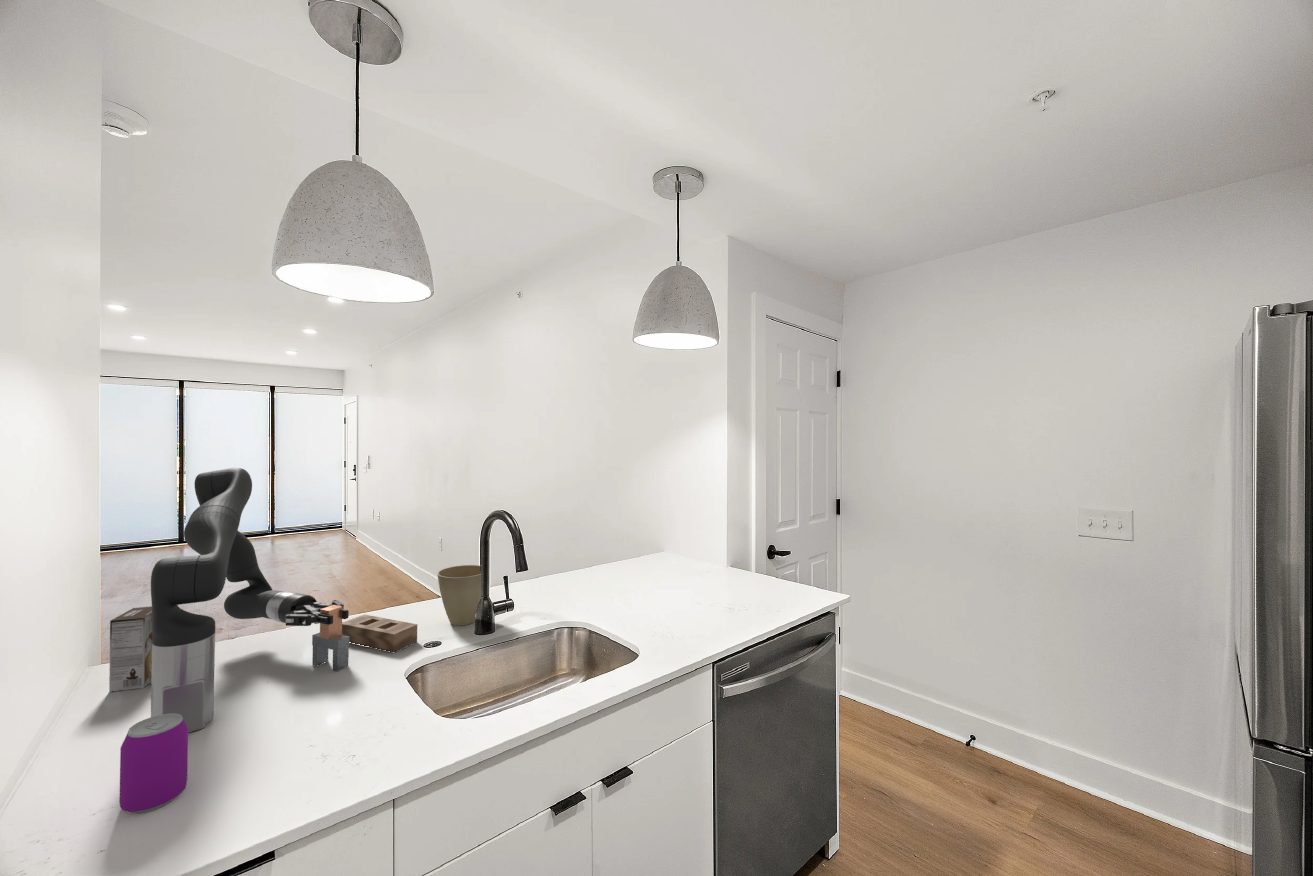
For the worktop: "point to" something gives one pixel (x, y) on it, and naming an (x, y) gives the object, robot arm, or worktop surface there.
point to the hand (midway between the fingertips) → (339, 617)
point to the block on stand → (331, 640)
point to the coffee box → (131, 650)
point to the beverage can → (153, 763)
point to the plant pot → (460, 592)
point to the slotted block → (380, 632)
